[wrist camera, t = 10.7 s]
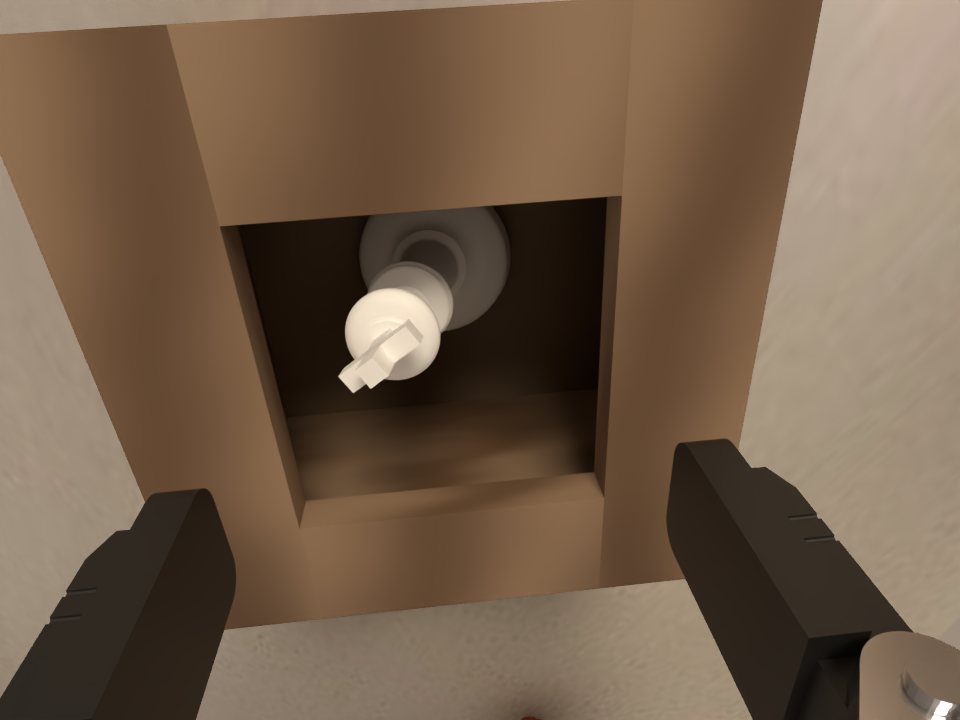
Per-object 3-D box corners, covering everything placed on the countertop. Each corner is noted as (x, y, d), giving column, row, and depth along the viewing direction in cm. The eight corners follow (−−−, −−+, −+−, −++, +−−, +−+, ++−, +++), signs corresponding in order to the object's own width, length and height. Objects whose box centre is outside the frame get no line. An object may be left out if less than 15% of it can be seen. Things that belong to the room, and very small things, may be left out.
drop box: (648, 0, 18) (825, -15, 10) (620, 400, 25) (714, 575, 17) (161, 29, 17) (-49, 37, 10) (269, 433, 24) (199, 632, 16)
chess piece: (540, 270, 20) (565, 399, 11) (425, 354, 22) (360, 533, 12) (446, 145, 19) (385, 171, 10) (330, 242, 20) (178, 347, 11)
